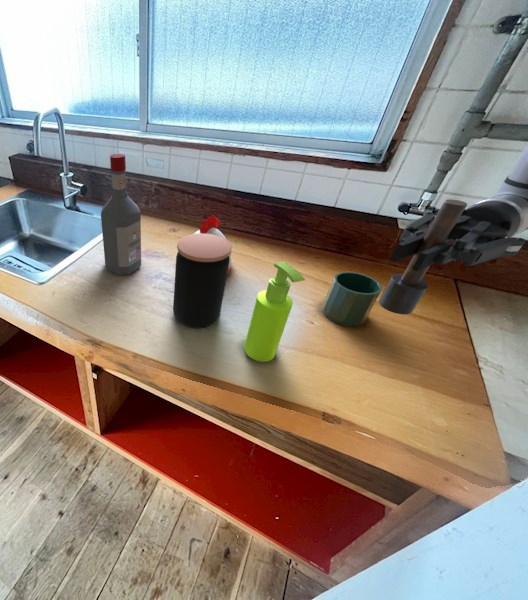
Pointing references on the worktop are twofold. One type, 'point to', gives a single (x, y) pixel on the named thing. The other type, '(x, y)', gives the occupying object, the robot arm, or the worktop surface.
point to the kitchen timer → (212, 230)
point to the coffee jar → (200, 278)
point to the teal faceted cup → (350, 298)
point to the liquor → (121, 224)
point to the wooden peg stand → (410, 286)
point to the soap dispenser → (271, 314)
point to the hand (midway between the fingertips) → (407, 257)
